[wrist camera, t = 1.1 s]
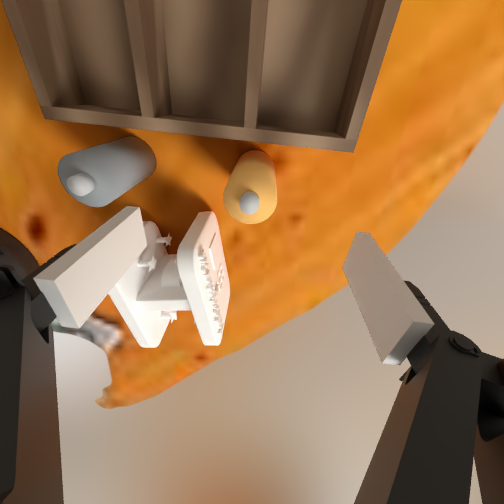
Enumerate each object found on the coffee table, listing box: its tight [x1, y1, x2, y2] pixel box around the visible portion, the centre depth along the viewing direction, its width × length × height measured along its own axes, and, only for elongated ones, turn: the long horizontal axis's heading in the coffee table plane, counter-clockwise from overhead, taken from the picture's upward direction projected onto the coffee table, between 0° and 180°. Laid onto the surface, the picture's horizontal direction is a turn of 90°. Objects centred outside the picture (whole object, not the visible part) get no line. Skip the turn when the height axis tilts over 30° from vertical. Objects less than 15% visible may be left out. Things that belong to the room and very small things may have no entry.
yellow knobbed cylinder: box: [223, 150, 277, 224], centre depth 23 cm, size 5×5×10 cm
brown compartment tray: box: [2, 0, 402, 153], centre depth 19 cm, size 27×12×6 cm, turn 85°
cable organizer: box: [108, 211, 230, 347], centre depth 30 cm, size 15×11×12 cm
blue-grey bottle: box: [58, 136, 156, 207], centre depth 23 cm, size 5×5×10 cm
